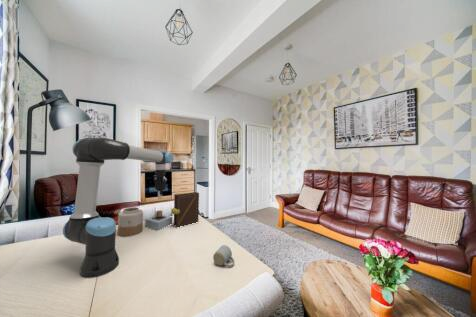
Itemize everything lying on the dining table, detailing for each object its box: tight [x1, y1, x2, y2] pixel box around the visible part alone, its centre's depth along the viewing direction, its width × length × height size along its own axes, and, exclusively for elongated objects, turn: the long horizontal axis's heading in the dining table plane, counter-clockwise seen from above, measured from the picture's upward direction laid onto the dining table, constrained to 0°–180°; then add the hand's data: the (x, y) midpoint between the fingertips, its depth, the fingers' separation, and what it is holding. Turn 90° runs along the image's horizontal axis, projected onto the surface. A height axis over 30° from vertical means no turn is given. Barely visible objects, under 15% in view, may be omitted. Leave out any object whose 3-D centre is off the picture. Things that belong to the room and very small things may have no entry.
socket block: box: [144, 214, 173, 231], centre depth 142 cm, size 14×14×7 cm
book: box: [171, 191, 200, 228], centre depth 146 cm, size 22×8×25 cm, turn 130°
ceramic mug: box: [212, 244, 235, 268], centre depth 95 cm, size 11×8×8 cm
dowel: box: [155, 210, 163, 219], centre depth 142 cm, size 4×4×6 cm
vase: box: [117, 206, 144, 238], centre depth 129 cm, size 15×15×17 cm
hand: (159, 198), depth 142 cm, fingers closed
